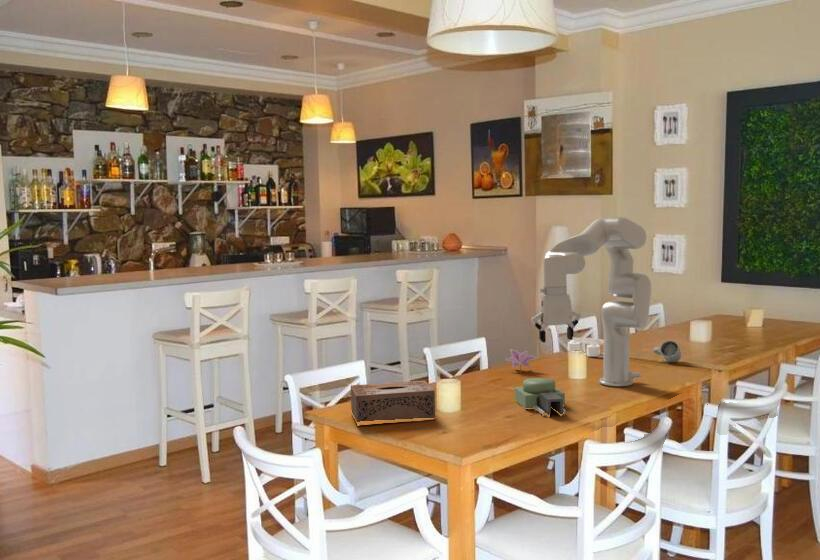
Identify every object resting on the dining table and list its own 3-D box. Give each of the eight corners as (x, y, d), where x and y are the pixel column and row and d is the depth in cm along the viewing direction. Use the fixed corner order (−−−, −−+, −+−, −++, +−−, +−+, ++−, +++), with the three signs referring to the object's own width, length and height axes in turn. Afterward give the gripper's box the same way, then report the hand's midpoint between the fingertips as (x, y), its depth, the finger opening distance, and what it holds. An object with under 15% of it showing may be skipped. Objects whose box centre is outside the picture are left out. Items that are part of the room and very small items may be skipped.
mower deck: (552, 398, 271) (552, 376, 270) (574, 414, 250) (574, 390, 249) (514, 401, 268) (514, 378, 268) (533, 417, 248) (533, 393, 247)
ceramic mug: (675, 366, 325) (686, 352, 326) (671, 359, 319) (682, 345, 319) (654, 355, 332) (664, 340, 332) (650, 348, 326) (660, 333, 326)
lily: (542, 372, 313) (538, 349, 317) (525, 368, 305) (522, 345, 308) (518, 378, 321) (515, 356, 324) (501, 374, 313) (499, 352, 316)
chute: (553, 409, 257) (553, 392, 257) (562, 416, 248) (562, 398, 248) (539, 410, 256) (539, 392, 256) (548, 417, 248) (548, 399, 247)
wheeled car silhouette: (562, 354, 349) (562, 338, 348) (578, 351, 356) (578, 335, 355) (597, 360, 333) (597, 344, 332) (613, 357, 340) (613, 341, 339)
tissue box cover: (356, 426, 243) (356, 395, 242) (351, 414, 257) (350, 385, 256) (435, 420, 248) (434, 390, 247) (425, 408, 262) (425, 380, 261)
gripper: (534, 294, 252) (536, 344, 254) (583, 290, 255) (584, 340, 257) (527, 291, 259) (528, 340, 261) (575, 287, 262) (576, 336, 264)
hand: (556, 340), depth 259 cm, fingers open, 9 cm apart
